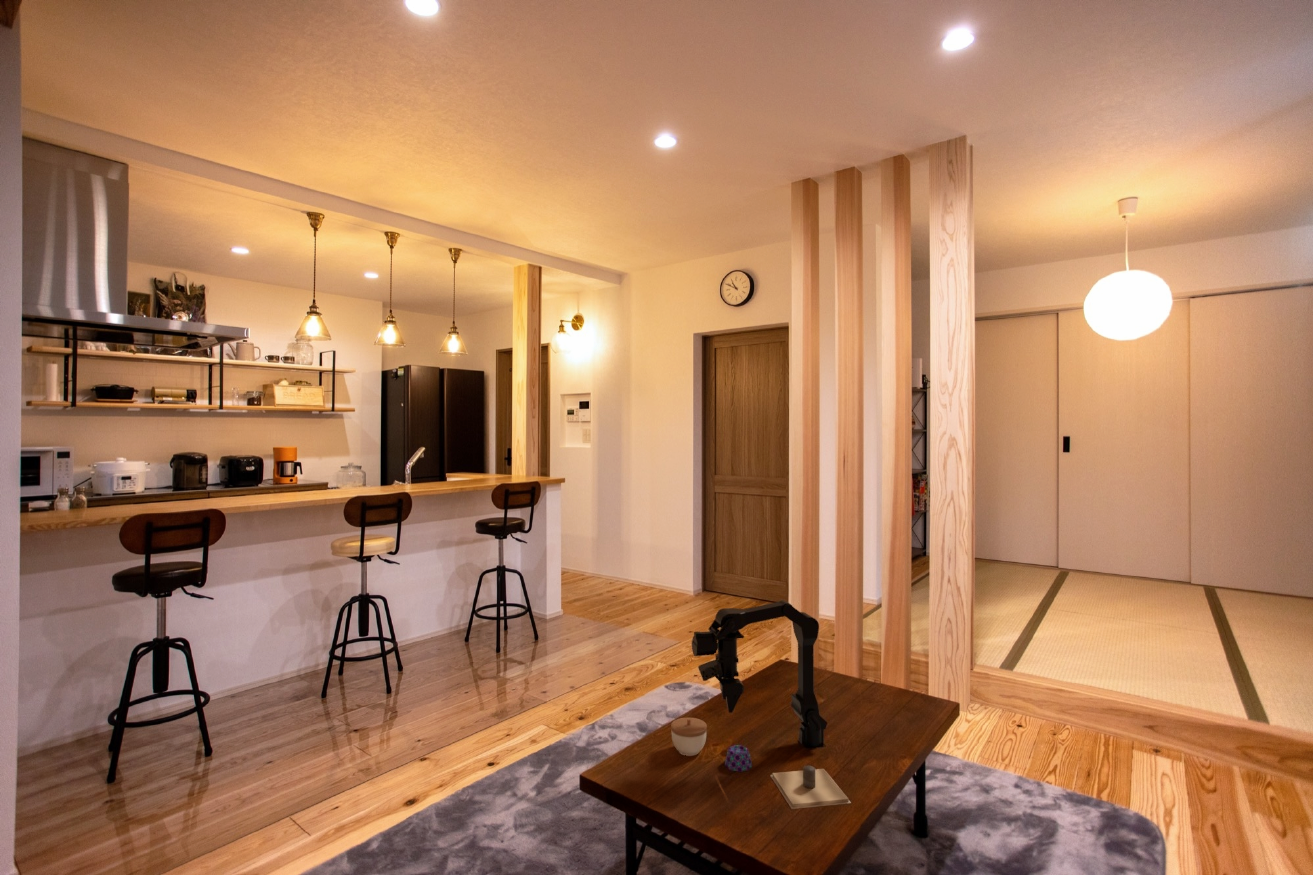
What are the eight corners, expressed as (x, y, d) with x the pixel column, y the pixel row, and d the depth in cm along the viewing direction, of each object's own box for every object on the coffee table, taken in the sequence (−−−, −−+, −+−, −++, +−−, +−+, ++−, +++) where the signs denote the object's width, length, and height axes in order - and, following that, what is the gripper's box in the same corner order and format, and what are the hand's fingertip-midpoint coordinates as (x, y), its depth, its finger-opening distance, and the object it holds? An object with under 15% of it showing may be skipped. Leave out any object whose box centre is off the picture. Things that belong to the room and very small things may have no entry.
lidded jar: (704, 761, 184) (704, 729, 184) (668, 757, 187) (668, 725, 186) (708, 744, 195) (708, 713, 195) (674, 740, 197) (674, 710, 197)
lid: (823, 771, 178) (823, 752, 178) (848, 801, 163) (848, 781, 163) (772, 775, 176) (772, 756, 176) (792, 807, 161) (792, 786, 161)
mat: (824, 772, 179) (824, 770, 179) (851, 805, 163) (851, 802, 163) (770, 777, 176) (770, 775, 176) (791, 810, 160) (791, 808, 160)
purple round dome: (759, 780, 175) (759, 761, 175) (715, 776, 177) (715, 757, 177) (759, 758, 187) (759, 740, 187) (718, 755, 189) (718, 737, 189)
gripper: (696, 643, 198) (696, 693, 198) (704, 665, 179) (705, 720, 179) (731, 642, 198) (732, 692, 198) (744, 664, 180) (744, 719, 180)
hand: (727, 705), depth 189 cm, fingers open, 9 cm apart
